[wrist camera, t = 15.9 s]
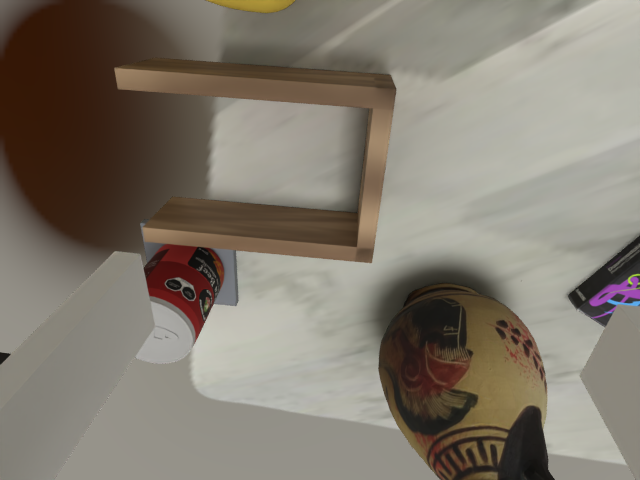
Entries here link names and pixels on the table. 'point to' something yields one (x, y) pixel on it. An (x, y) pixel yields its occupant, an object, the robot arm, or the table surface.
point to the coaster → (228, 259)
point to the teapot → (255, 5)
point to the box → (610, 286)
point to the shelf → (266, 220)
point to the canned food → (179, 299)
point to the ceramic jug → (466, 385)
